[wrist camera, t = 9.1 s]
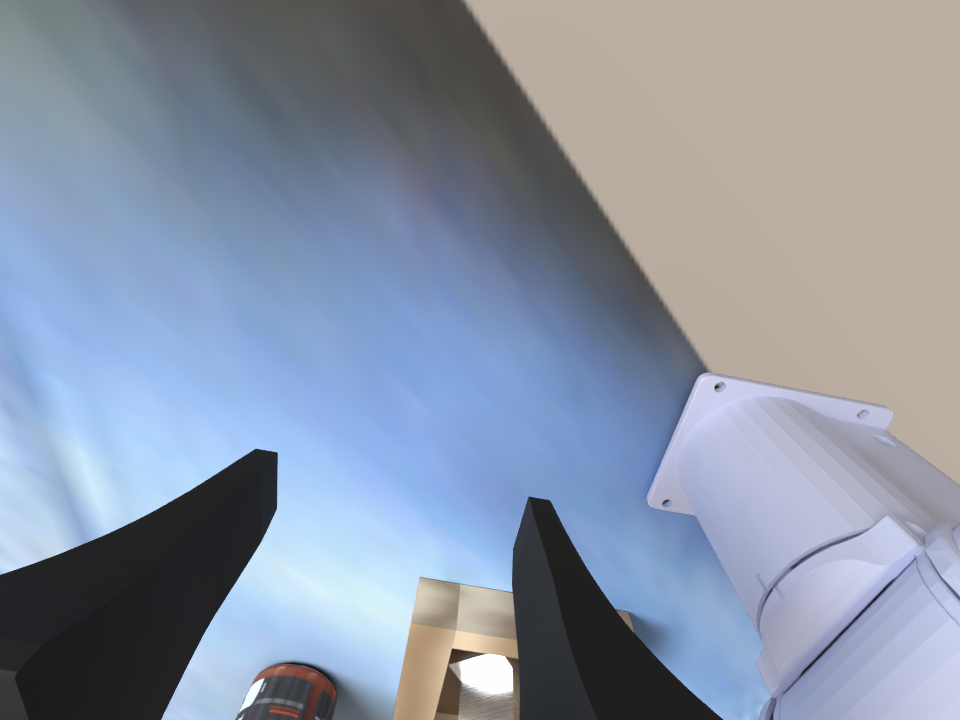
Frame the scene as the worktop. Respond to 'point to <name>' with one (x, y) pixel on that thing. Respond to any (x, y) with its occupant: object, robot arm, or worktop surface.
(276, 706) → the supplement bottle
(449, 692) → the well block
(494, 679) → the stepped metal bar
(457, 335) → the worktop surface
